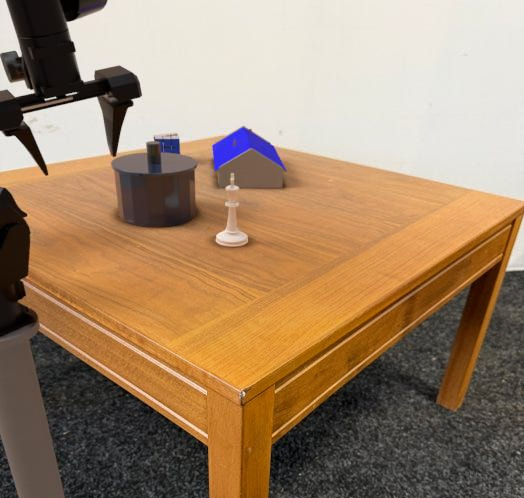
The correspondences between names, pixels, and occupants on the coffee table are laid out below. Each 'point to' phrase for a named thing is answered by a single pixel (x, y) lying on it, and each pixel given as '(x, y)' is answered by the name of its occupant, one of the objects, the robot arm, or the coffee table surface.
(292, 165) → the coffee table surface
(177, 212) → the pot
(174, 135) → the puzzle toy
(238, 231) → the chess piece
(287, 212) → the coffee table surface
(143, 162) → the pot lid
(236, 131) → the toy house
